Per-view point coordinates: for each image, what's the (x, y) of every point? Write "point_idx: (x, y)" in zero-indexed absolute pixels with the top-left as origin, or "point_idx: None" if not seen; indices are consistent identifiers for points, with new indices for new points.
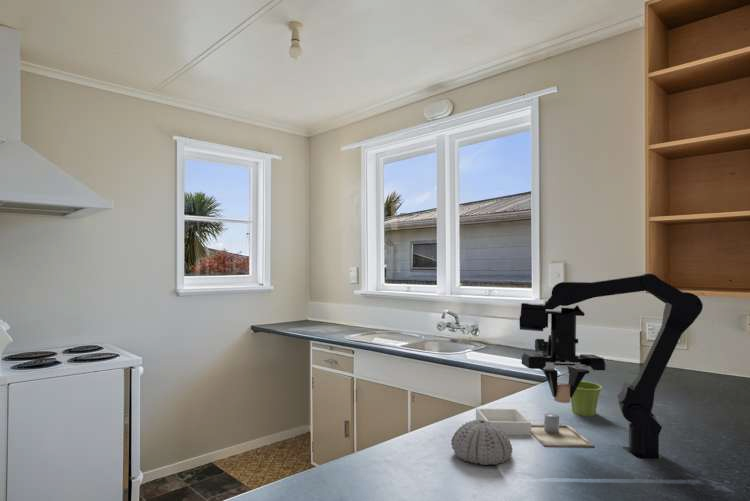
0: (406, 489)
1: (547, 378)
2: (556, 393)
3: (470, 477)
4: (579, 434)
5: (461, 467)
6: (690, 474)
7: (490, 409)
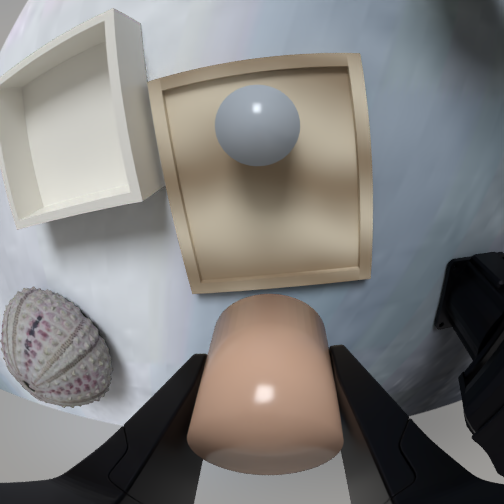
0: None
1: (105, 461)
2: None
3: None
4: (368, 173)
5: None
6: None
7: (22, 68)
